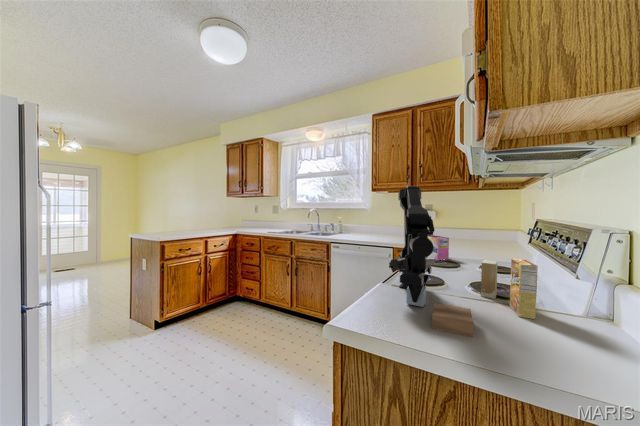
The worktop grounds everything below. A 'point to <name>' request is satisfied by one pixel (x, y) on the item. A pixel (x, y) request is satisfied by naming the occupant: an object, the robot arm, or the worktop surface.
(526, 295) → the candy box
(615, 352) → the worktop surface
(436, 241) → the gum box
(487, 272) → the skincare box
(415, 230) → the robot arm
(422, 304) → the slate cube
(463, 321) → the walnut block
